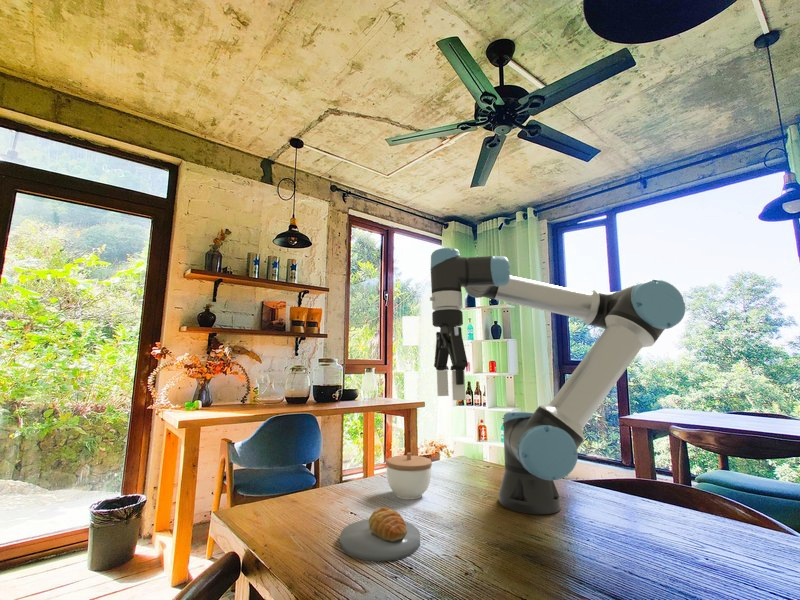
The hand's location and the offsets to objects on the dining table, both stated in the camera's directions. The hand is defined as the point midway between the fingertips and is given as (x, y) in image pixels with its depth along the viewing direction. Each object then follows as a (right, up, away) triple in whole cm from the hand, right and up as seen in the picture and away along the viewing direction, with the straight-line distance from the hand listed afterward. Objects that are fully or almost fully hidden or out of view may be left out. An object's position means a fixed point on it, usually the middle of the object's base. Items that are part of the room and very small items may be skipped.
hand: (450, 397), depth 93 cm
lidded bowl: (-10, -30, +13) cm, 34 cm away
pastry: (-14, -24, -15) cm, 31 cm away
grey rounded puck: (-16, -25, -15) cm, 33 cm away
